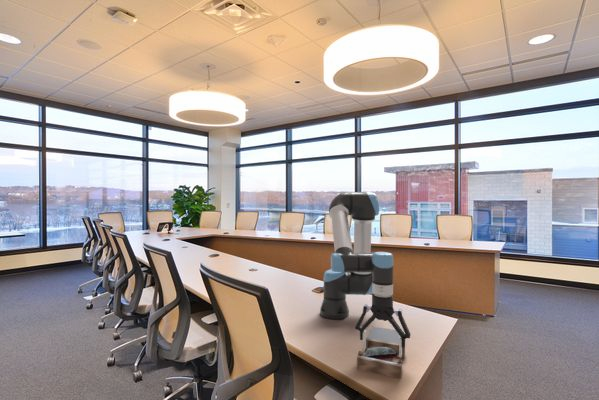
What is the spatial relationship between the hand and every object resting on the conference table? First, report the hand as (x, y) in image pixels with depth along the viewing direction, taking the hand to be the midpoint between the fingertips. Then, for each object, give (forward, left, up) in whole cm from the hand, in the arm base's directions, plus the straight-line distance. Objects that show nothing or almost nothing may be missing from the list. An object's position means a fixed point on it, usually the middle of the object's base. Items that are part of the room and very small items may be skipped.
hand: (382, 352), depth 116 cm
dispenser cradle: (0, 0, -4) cm, 4 cm away
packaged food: (+3, 0, -5) cm, 5 cm away
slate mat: (-2, +22, -4) cm, 22 cm away
